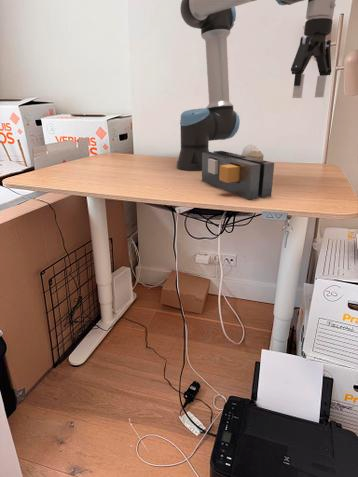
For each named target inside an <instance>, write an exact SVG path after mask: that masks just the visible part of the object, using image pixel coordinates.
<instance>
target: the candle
mask: <svg viewBox="0 0 358 477" xmlns="http://www.w3.org/2000/svg"><path fill="white" fill-rule="evenodd" d="M248 157H251V158H256V159H260V160H264V154H263V152H262V151H261V150H259V151H258V152H256V151H251V152H250V153H249V154H248Z"/></svg>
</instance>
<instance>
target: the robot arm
mask: <svg viewBox="0 0 358 477" xmlns="http://www.w3.org/2000/svg"><path fill="white" fill-rule="evenodd" d="M255 1H256V0H181V3H180V14H181V18H182V19H183V21H184V23H185V24H186V25H187V26H189V27H191V28H193V29H200V32H201V34H200V35H201V39H203V40H204V41H205V55H206V56H205V57H206V75H207V87H208V88H207V92H208V105H207V106H206V107H204V108H203V107H201V108H193V109H188V110H184V111H183V112H182V113H181V114H180V120H179V121H180V122H179V125H180V151H179V155H178V160H177V162H176V169H178V170H183V171H202V152H210V150H209V141H210V142H211V141H220V140H221V141H223V140H228V139H232V138H233V137H234V136H235V135H236V134H237V133H238V131H239V129H240V116H239V114H238V113H237V112H236V111H235V110H234V105H233V103H232V102H230V87H229V86H230V85H229V82H230V81H229V66H228V65H229V61H228V59H229V58H228V39H227V38H228V37H229V35H231V30H232V29H233V27H234V25H235V22H236V19H237V18H236V17H237V15H236V14H237V12H236V7H238V6H241V5H245V4H247V3H250V2H255ZM303 1H305V0H275V2H277V4H278V5H280V6H287V5H288V6H289V5H291V6H292V5H293V4H296V3H300V2H303ZM335 7H336V0H307V8H306V14H305V19H306V21H305V23H304V32H303V36H301V37H300V40H299V45H298V48H297V51H296V55H295V57H294V60H293V62H292V64H291V68H290V72H291V75H294V81H293V88H292V89H293V90H292V91H293V92H292V96H291V97H292V98H293V99H298V98H299V99H302V97H303V90H304V83H305V82H304V81H305V75H306V74H305V73H304V72H305V70H306V68H307V66H308V64H309V62H310V61H311V59H312V57H314V58H315V61H316V65H317V70H318V74H319V75H317V78H316V87H315V93H314V98H324V96H325V90H326V83H327V76H331V74H332V59H331V58H332V57H331V45H332V40H331V39H326V37H327V36H329V35H330V34H331V32H332V26H333V20H332V18H333V17H334V13H335Z"/></svg>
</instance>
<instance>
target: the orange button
mask: <svg viewBox="0 0 358 477" xmlns="http://www.w3.org/2000/svg"><path fill="white" fill-rule="evenodd" d="M219 180H221V181H223V182H226V183H230V182H238V181H240V166H237V165H233V164H229V165H220V173H219Z"/></svg>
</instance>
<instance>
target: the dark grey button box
mask: <svg viewBox="0 0 358 477" xmlns="http://www.w3.org/2000/svg"><path fill="white" fill-rule="evenodd" d="M212 158H216V159H219V162H218V174H212V173H209V172H208V159H212ZM229 164H233V165H237V166H240V181H238V182H230V183H226V182H223V181H221V180H219V173H220V165H229ZM274 171H275V162H272V161H268V160H264V159H263V160H260V159H256V158H251V157H247V156H243V155H242V154H237V153H233V152H228V151H225V150H217V151H212V152H211V151H209V152H202V170H201V181H202V182H204V183H206V184H209V185H211V186H214V187H216V188H218V189H222V190H223V191H226V192H229V193H231V194H233V195H236V196H238V197H241V198H243V199H246V200H249V201H251V200H258V198H261V199H264V198H271V197H272V192H273V183H274V182H273V181H274Z"/></svg>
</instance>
